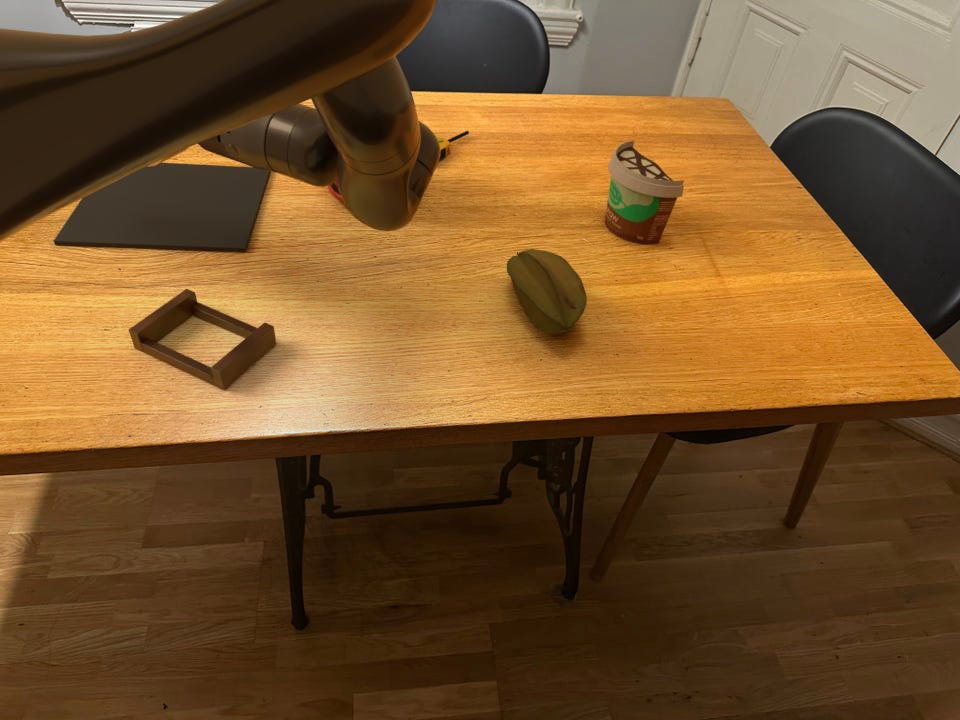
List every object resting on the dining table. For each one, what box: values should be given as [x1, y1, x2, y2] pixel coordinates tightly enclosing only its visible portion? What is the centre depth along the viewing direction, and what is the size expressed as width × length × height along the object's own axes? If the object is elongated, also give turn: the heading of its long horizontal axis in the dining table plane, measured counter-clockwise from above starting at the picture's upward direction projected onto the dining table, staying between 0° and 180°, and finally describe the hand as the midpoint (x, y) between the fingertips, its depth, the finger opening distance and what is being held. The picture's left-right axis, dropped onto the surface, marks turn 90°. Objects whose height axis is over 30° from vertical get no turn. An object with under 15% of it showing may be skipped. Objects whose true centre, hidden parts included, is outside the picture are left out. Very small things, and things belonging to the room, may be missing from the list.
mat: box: [53, 162, 272, 253], centre depth 91 cm, size 22×20×1 cm
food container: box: [604, 139, 685, 245], centre depth 93 cm, size 12×6×10 cm, turn 25°
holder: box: [128, 288, 277, 391], centre depth 71 cm, size 8×12×2 cm
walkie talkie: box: [436, 130, 470, 162], centre depth 108 cm, size 5×2×15 cm
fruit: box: [506, 248, 588, 335], centre depth 79 cm, size 11×12×7 cm
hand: (123, 83), depth 74 cm, fingers closed on tape roll, 4 cm apart
